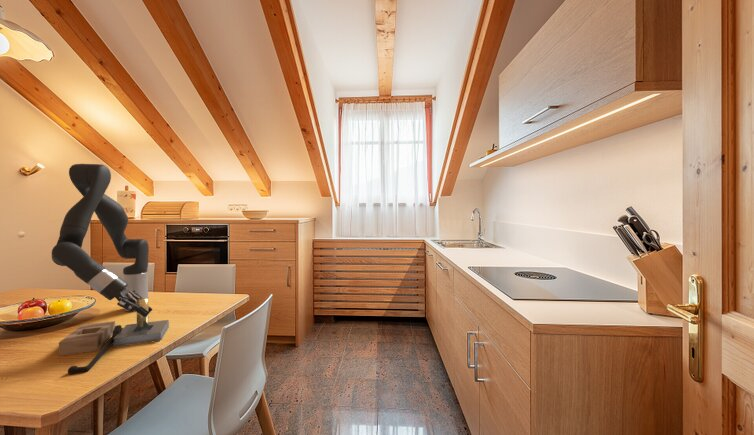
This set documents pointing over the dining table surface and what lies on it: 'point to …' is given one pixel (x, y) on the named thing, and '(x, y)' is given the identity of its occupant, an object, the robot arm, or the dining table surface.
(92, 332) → the brown recessed block
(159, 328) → the block
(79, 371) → the wrench
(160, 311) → the dining table surface
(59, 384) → the dining table surface
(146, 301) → the gold round-topped peg
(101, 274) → the robot arm
